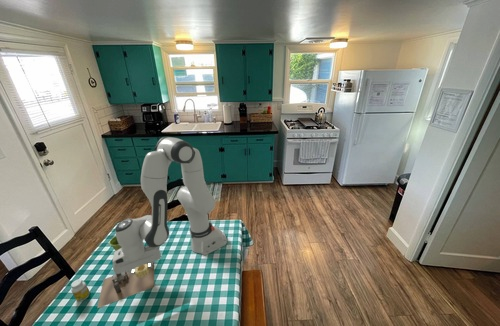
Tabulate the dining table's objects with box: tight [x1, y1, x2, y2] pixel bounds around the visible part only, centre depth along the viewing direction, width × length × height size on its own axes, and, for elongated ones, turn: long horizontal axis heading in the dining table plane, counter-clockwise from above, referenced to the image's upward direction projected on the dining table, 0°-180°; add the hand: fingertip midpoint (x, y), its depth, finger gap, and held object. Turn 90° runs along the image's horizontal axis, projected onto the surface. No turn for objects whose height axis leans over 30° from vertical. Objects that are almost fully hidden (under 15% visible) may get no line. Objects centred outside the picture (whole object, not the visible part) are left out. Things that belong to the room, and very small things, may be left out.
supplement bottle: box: [70, 278, 91, 302], centre depth 97 cm, size 5×5×10 cm
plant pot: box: [108, 235, 121, 252], centre depth 123 cm, size 9×9×9 cm
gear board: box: [97, 262, 155, 309], centre depth 102 cm, size 24×16×6 cm, turn 115°
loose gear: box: [134, 263, 150, 278], centre depth 101 cm, size 6×6×3 cm
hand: (142, 270), depth 101 cm, fingers closed on loose gear, 6 cm apart
